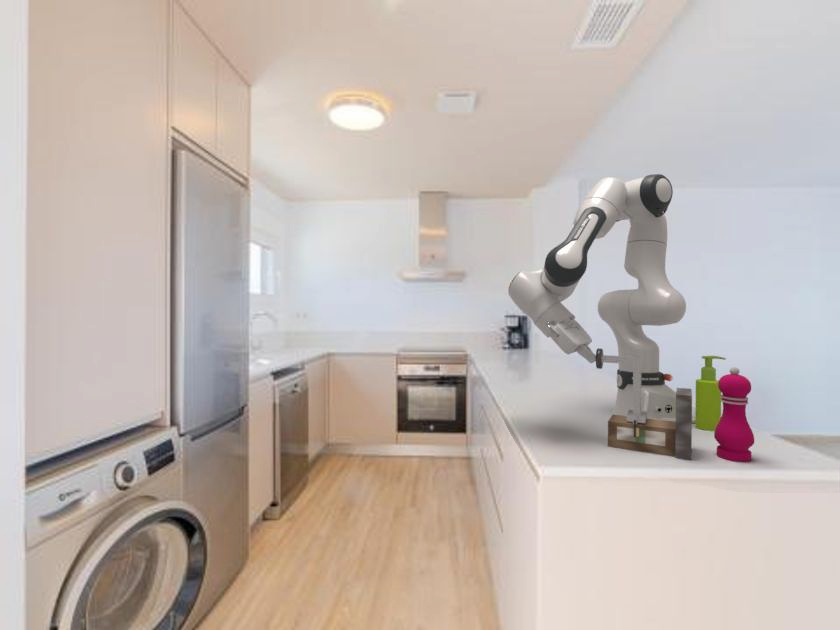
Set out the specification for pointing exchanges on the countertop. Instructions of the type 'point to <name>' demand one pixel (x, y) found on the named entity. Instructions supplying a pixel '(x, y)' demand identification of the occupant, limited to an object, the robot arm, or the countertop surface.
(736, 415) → the pepper mill
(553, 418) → the countertop surface
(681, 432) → the stand
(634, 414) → the plunger
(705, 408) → the soap dispenser
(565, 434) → the countertop surface
